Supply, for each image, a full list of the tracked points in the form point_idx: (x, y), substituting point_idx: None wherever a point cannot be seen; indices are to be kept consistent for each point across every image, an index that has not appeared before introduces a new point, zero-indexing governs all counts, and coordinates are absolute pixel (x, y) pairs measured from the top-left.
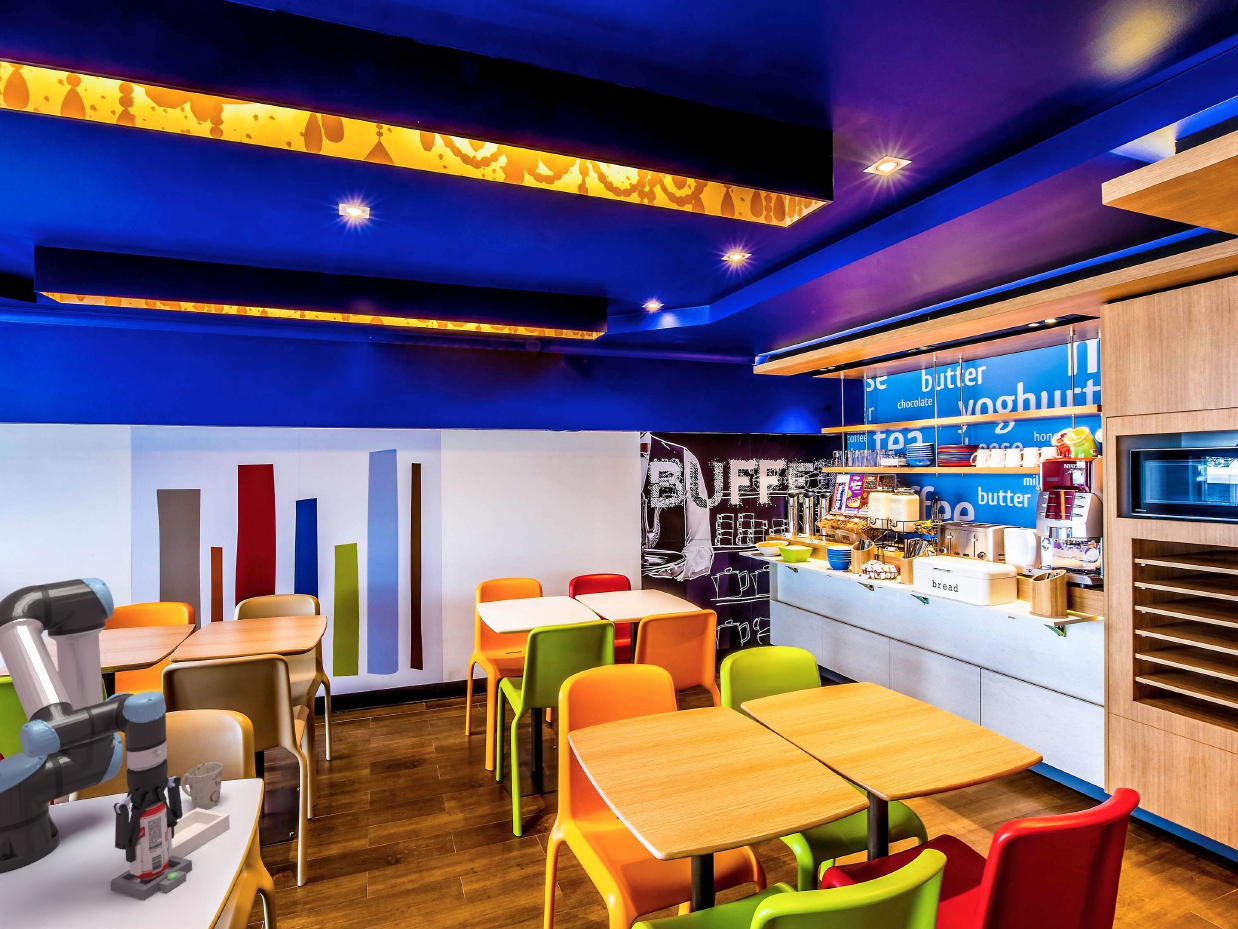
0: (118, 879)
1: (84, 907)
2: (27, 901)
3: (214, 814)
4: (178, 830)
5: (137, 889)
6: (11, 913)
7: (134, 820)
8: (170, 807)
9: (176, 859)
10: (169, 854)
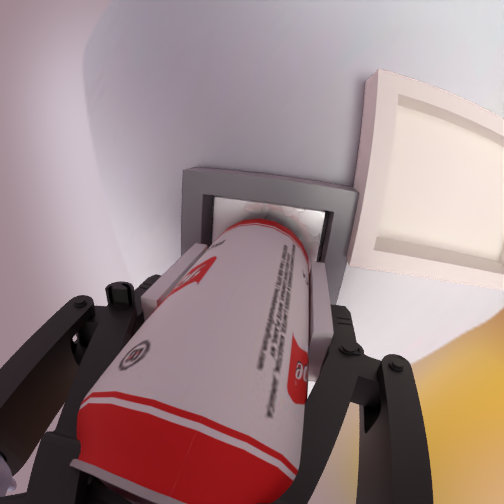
0: (195, 191)
1: (132, 167)
2: (127, 8)
3: None
4: (485, 136)
5: None
6: (94, 28)
7: None
8: (383, 420)
9: None
10: None
